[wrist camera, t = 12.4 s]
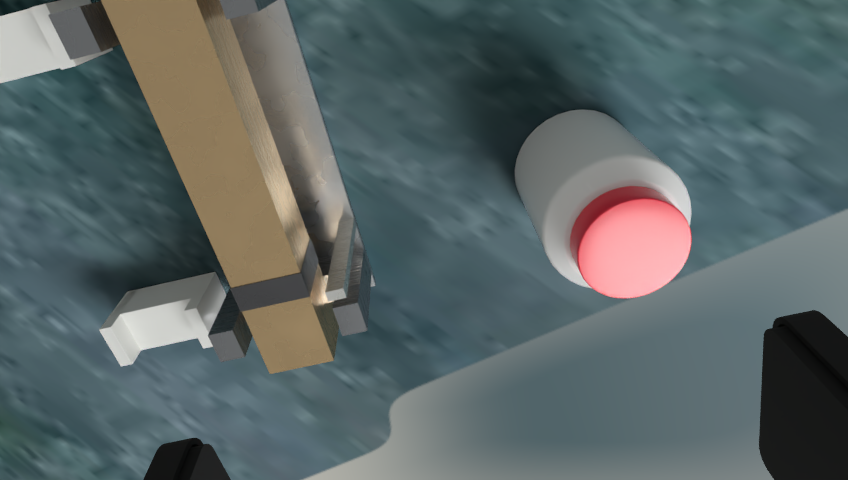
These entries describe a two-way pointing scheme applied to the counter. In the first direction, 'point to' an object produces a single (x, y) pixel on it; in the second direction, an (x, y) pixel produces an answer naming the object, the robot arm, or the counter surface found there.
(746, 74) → the counter surface
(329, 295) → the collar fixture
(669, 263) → the pill bottle
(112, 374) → the counter surface
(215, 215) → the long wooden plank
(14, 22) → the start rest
